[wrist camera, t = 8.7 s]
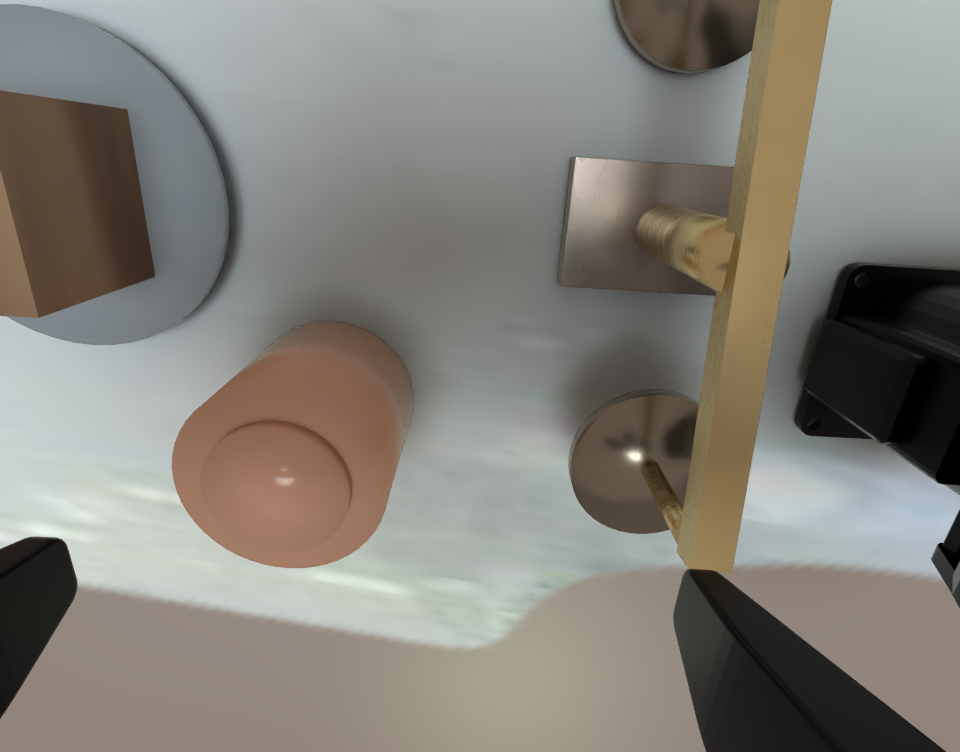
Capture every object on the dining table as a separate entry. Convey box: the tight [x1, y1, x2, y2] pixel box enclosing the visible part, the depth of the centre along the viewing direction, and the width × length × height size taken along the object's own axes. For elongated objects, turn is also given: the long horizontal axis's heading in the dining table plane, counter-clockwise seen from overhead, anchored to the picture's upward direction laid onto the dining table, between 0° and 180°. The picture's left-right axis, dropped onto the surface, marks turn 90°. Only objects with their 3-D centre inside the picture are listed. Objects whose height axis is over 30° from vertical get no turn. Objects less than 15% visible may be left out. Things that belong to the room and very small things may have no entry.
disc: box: [0, 4, 229, 345], centre depth 17 cm, size 10×10×1 cm
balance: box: [557, 0, 832, 573], centre depth 14 cm, size 6×19×9 cm, turn 177°
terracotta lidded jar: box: [172, 321, 414, 568], centre depth 17 cm, size 6×6×6 cm
